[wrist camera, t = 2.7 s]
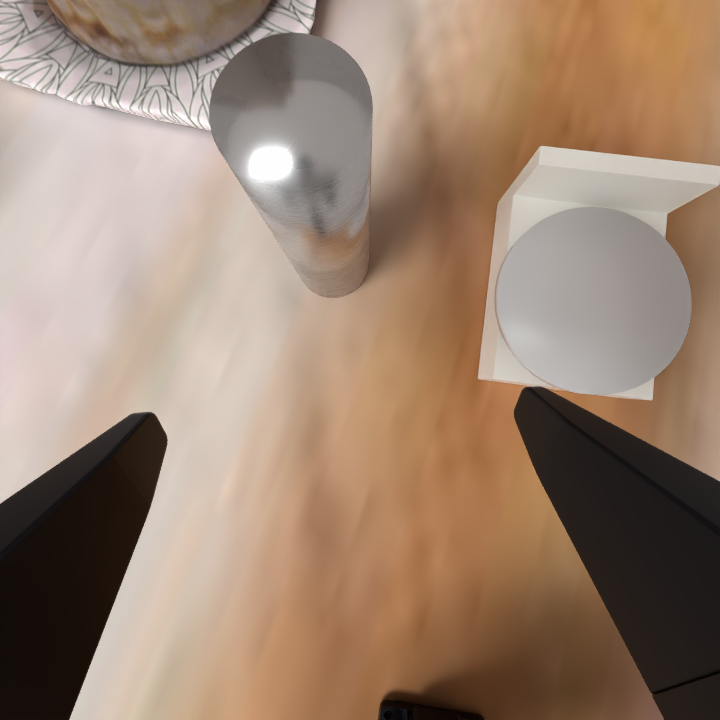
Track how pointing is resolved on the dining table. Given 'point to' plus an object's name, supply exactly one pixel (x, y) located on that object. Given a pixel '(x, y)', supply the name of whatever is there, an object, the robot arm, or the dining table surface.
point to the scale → (589, 273)
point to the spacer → (302, 151)
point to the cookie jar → (137, 49)
